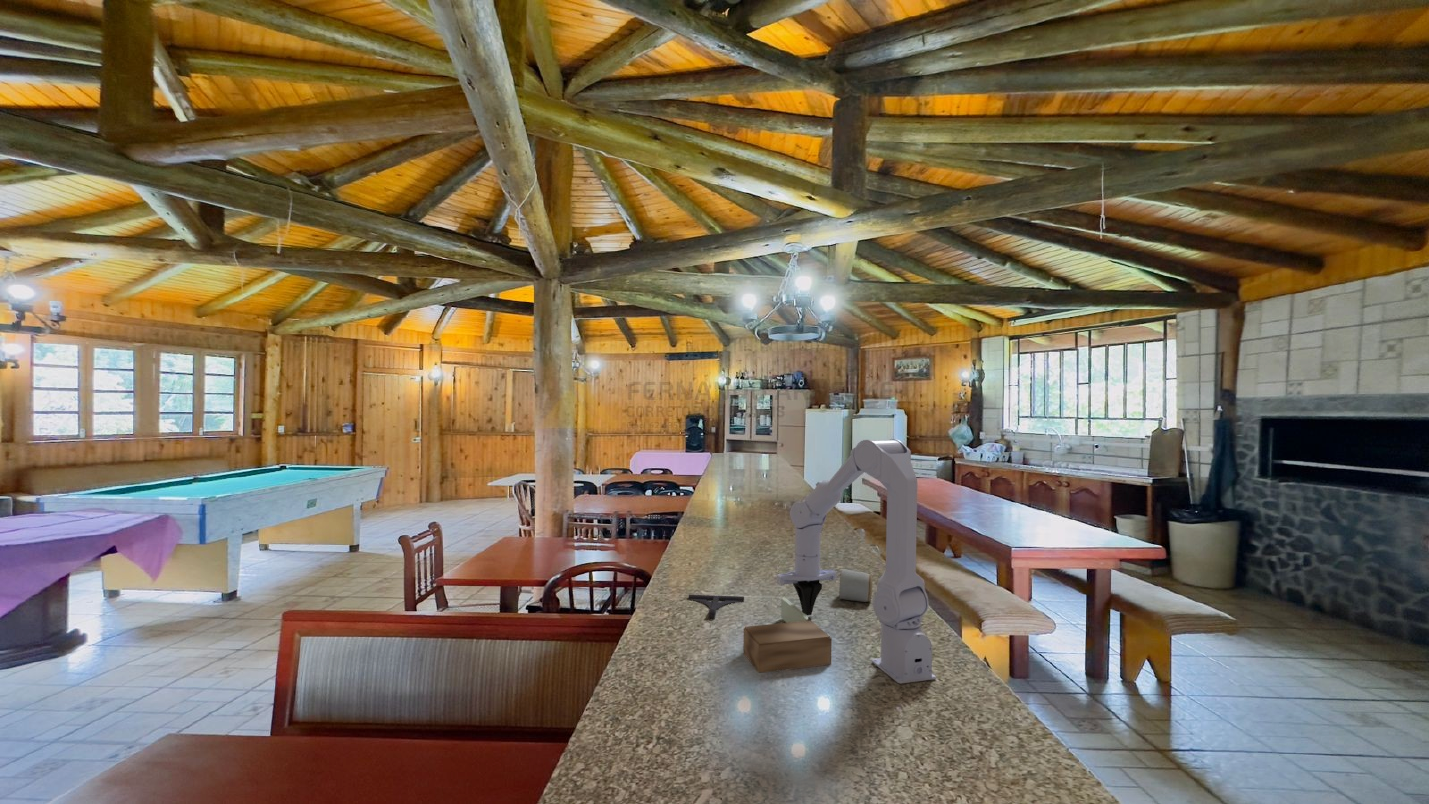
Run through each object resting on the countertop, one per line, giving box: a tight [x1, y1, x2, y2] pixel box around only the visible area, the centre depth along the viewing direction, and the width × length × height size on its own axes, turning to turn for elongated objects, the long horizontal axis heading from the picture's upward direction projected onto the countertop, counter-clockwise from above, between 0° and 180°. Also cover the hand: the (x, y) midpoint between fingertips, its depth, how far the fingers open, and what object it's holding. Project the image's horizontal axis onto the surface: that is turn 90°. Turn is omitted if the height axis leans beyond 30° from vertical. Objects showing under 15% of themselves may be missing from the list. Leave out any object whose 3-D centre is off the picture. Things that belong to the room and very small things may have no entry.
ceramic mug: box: [838, 568, 873, 603], centre depth 147 cm, size 11×8×8 cm
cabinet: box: [742, 616, 833, 674], centre depth 111 cm, size 10×15×6 cm, turn 106°
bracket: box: [688, 594, 745, 620], centre depth 138 cm, size 14×15×3 cm
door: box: [780, 597, 809, 623], centre depth 125 cm, size 14×2×5 cm, turn 16°
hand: (806, 613), depth 127 cm, fingers closed
